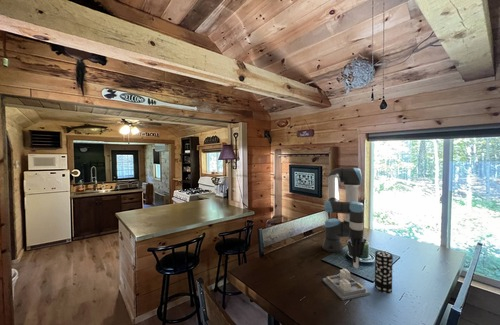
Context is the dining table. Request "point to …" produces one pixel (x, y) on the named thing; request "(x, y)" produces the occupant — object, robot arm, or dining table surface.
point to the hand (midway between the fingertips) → (355, 267)
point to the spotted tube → (383, 271)
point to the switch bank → (355, 291)
